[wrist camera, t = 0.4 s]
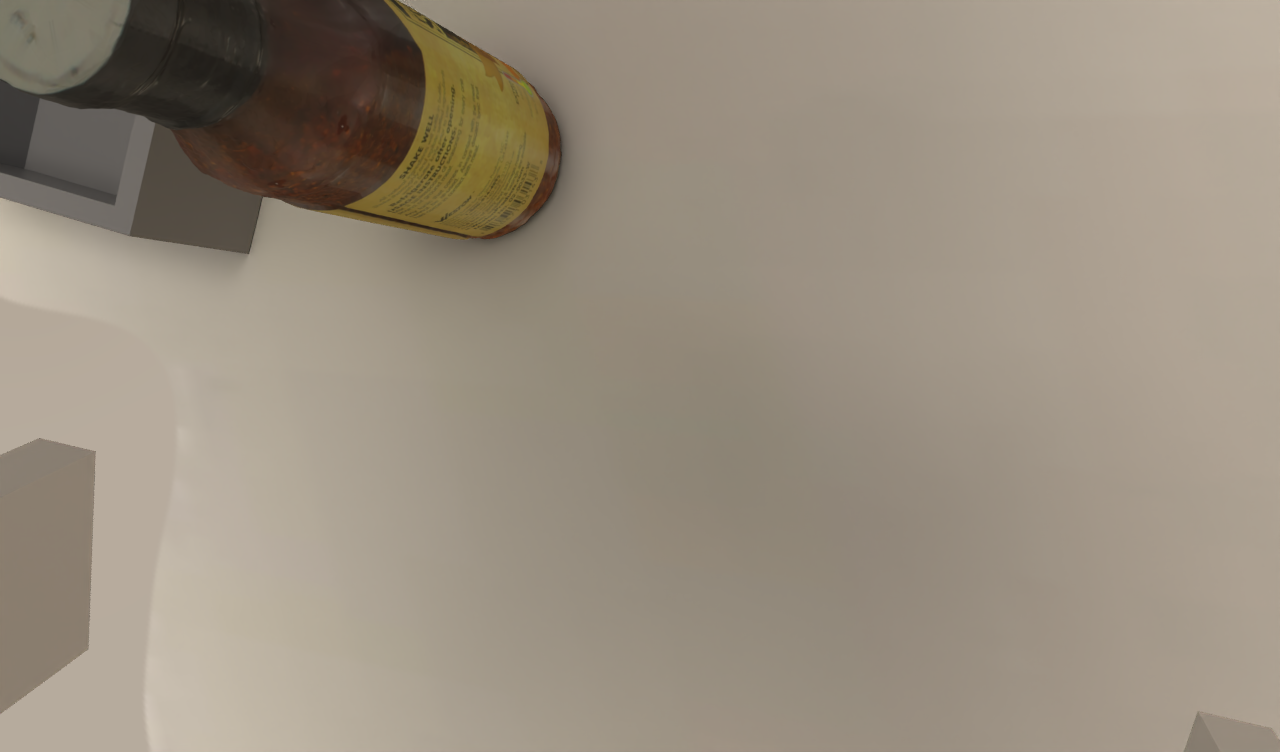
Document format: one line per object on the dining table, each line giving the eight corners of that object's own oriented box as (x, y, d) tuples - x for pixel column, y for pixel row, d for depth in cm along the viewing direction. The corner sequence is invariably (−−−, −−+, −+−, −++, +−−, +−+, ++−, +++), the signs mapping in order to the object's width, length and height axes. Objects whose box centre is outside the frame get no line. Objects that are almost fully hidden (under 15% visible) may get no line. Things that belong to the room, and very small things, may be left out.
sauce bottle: (561, 56, 40) (201, -227, 20) (576, 235, 40) (230, 120, 20) (390, 84, 41) (-90, -153, 22) (404, 255, 41) (-65, 167, 22)
